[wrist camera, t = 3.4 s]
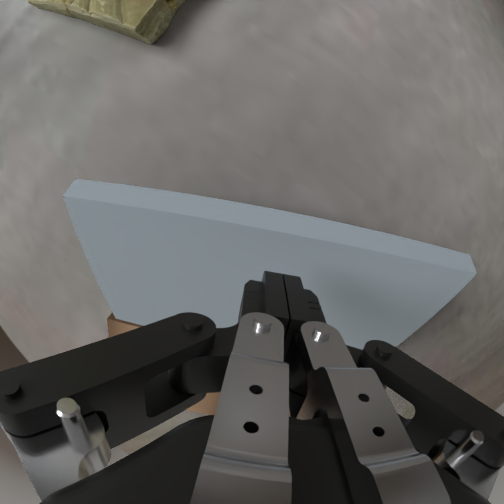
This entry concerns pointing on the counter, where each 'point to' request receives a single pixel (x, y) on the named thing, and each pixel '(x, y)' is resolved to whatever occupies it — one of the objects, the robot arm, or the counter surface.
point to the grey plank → (255, 261)
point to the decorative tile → (119, 14)
